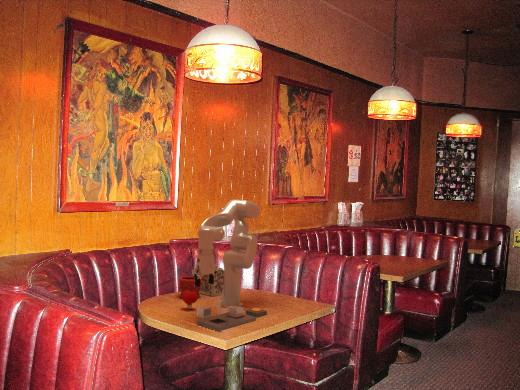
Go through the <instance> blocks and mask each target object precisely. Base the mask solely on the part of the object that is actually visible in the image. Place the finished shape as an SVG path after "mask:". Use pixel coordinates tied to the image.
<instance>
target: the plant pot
mask: <svg viewBox="0 0 520 390" xmlns="http://www.w3.org/2000/svg"><path fill="white" fill-rule="evenodd" d="M199 279H200V287H197V286H195V278H194V276H193V275H192V276H191V275H190V276H189V275H188V276H181V277H179V290H180V292H181V293H180V295H179V296H180V297H181V298H182V294H183V292H184V291H190V292H193V291H194V292H196V293H197V296H198V298H199V297H200V295H201V293H200V288H201V278H199Z"/></svg>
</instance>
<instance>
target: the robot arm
mask: <svg viewBox="0 0 520 390" xmlns="http://www.w3.org/2000/svg"><path fill="white" fill-rule="evenodd" d="M260 214H261V208H260V206H259V205H258V203H255V202H253V201H250V200H246V199H231V200H229V201H228V202H227V203H225V206H224V207H223V208H222V209H221V211H220V212H219V213H216V214H214V215H212V216H210V217H208V218H206V219H205V220H204V221H203V222H202V223H201V225H200V226H199V228H198V230H197V236H198V244H197V245H198V247H197V248H198V250H197V252H196V253H197V256H196V261H195V267H193V269H191V273H192V276H193V277H194V278H195V284H194V286H197V287H200V279H199V278H200V277H201V275H208V274H210V276H209V284H214V276H215V274H216V272H217V269H218V266H217V267H216V266H215V265H216V258H215V254H214V242H221V241H222V240H224V238H225V236H226V231H225V230H224V228H223V227H226V226H229V225H231V224H232V223H233V222H234V227H233V230H232V235H231V237H230V238H231V239H230V241H229V243H230V244H229V245H230V248H231V250H227V251H225V252H224V253H223V255H222V262H223V270H224V294H223V295H220V297H219V300H221V302H220V306H221V307H223V308H228V307H229V308H230V307H234V306H239V307H242V308H243V303H242V302H241V280H242V276H241V271H240V270H239V269H243V270H244V269H245V270H248V269H250V268H252V266H253V264H254V260H255V257H256V253H257V250H258V249H257V248H258V244H259V243H258V237H257V236H256V235H254V234H250V233H249V229H250V227H249V224H248V221H247V220H246V219H257V218H258V217H259V216H260ZM245 218H246V219H245ZM232 249H233V250H232Z"/></svg>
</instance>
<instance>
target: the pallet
mask: <svg viewBox="0 0 520 390" xmlns="http://www.w3.org/2000/svg"><path fill="white" fill-rule="evenodd" d="M256 320H257V317H254V316H250V315H247V314H246V313H243V317H242V318H238V319H234V318H231V317H229V311H228V312H227V311H226V312H224V313H221V314H217V315H211V317H208V318H204V319H202V318H199V319H197V320H196V326H197V325H198V327H200V326H202V327H201V328H203V327H205V328H204V329H207V328H208V329H207V330H210V329H211V330H210V331H213V330H215V331H214V332H216V331H218V332H217V333H219V332H221V333H222V331H223V330H227V329H230V328H233V327H238V326H241V325H245V324H248V323H252V322H255V321H256Z"/></svg>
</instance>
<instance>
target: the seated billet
mask: <svg viewBox="0 0 520 390" xmlns="http://www.w3.org/2000/svg"><path fill="white" fill-rule="evenodd" d="M228 312H229V317H231V318H234V319H238V318H242V317H243V314H244V307H243V306H242V307H240V306H234V307H229V310H228Z"/></svg>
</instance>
